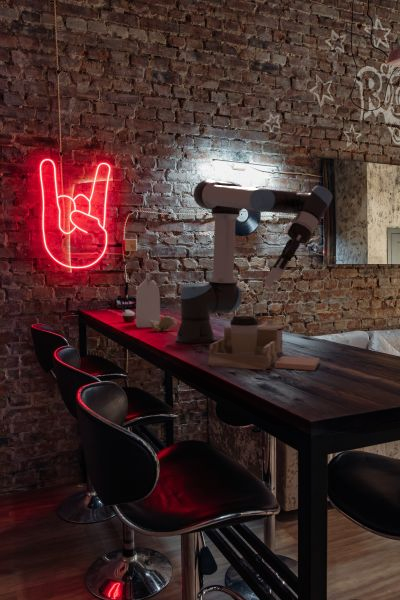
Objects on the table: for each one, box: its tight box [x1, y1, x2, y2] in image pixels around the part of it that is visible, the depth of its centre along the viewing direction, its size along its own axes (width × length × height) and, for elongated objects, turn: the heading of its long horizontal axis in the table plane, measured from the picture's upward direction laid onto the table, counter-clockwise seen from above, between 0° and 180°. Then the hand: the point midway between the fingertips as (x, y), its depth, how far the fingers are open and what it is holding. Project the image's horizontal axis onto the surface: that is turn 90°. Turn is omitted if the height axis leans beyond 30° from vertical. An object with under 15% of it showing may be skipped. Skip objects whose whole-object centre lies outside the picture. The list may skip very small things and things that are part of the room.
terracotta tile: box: [274, 355, 320, 371], centre depth 168 cm, size 12×12×2 cm
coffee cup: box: [229, 315, 259, 355], centre depth 172 cm, size 9×9×15 cm
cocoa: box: [119, 299, 136, 323], centre depth 282 cm, size 10×6×12 cm, turn 103°
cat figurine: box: [150, 315, 179, 333], centre depth 247 cm, size 8×7×12 cm
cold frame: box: [208, 326, 278, 371], centre depth 172 cm, size 18×18×10 cm
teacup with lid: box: [257, 318, 284, 354], centre depth 194 cm, size 12×9×12 cm
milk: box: [135, 272, 162, 328], centre depth 266 cm, size 12×12×26 cm
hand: (270, 281), depth 176 cm, fingers open, 13 cm apart
